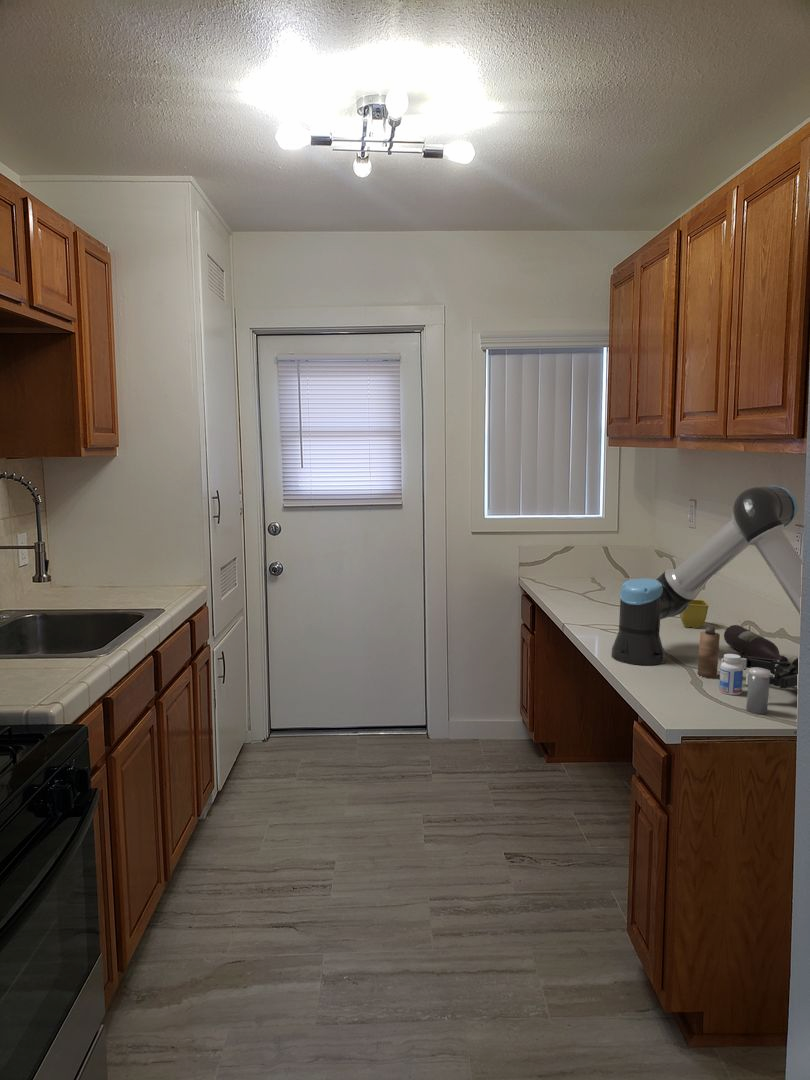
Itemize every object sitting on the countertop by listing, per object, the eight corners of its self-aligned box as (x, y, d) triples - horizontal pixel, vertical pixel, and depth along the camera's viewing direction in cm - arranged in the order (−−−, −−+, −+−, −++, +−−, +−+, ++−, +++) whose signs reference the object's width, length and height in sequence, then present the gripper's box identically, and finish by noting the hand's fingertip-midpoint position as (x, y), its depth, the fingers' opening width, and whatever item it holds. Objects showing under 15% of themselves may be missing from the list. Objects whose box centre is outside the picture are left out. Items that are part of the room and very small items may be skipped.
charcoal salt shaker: (749, 713, 182) (752, 672, 180) (743, 707, 186) (746, 666, 185) (769, 714, 181) (773, 673, 180) (763, 708, 186) (766, 667, 184)
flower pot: (707, 630, 264) (708, 605, 263) (680, 628, 266) (682, 603, 265) (702, 624, 273) (704, 600, 272) (676, 623, 274) (678, 598, 273)
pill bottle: (740, 690, 199) (743, 654, 198) (742, 696, 194) (745, 659, 193) (718, 687, 201) (720, 652, 200) (719, 694, 196) (722, 657, 195)
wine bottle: (748, 631, 244) (800, 657, 214) (737, 649, 244) (787, 678, 214) (730, 620, 243) (780, 645, 213) (719, 639, 244) (767, 666, 214)
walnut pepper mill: (699, 677, 209) (703, 629, 208) (695, 672, 214) (698, 625, 212) (718, 679, 209) (722, 630, 207) (714, 673, 214) (717, 626, 212)
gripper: (841, 701, 185) (756, 701, 184) (786, 671, 210) (711, 670, 209) (844, 672, 184) (759, 671, 183) (788, 644, 209) (713, 644, 208)
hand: (733, 671), depth 196 cm, fingers open, 13 cm apart
